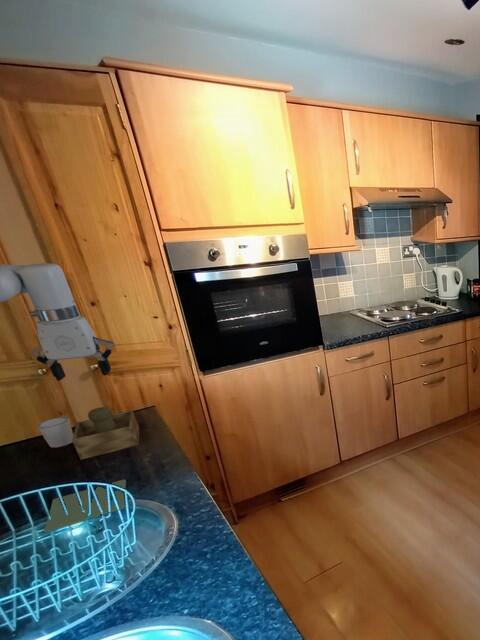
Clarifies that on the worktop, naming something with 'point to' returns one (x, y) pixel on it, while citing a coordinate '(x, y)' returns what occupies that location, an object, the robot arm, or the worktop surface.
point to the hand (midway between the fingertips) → (84, 376)
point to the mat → (75, 510)
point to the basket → (106, 436)
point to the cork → (102, 420)
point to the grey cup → (56, 431)
